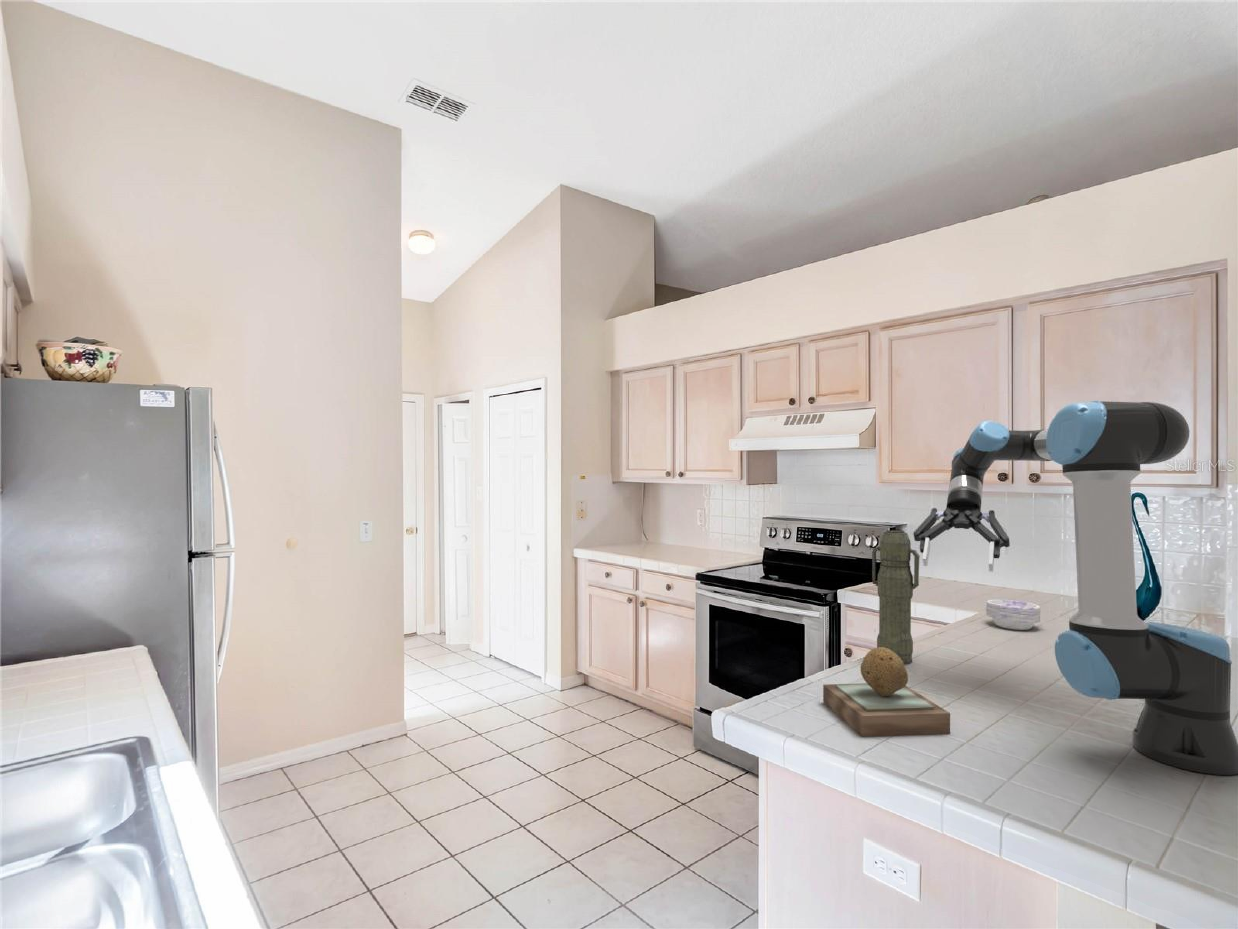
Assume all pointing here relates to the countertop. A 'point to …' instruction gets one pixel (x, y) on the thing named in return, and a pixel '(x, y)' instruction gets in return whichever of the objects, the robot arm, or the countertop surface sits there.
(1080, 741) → the countertop surface
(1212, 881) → the countertop surface
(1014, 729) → the countertop surface
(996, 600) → the paper bowls
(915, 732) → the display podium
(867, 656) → the brown rounded lump
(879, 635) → the thermos
